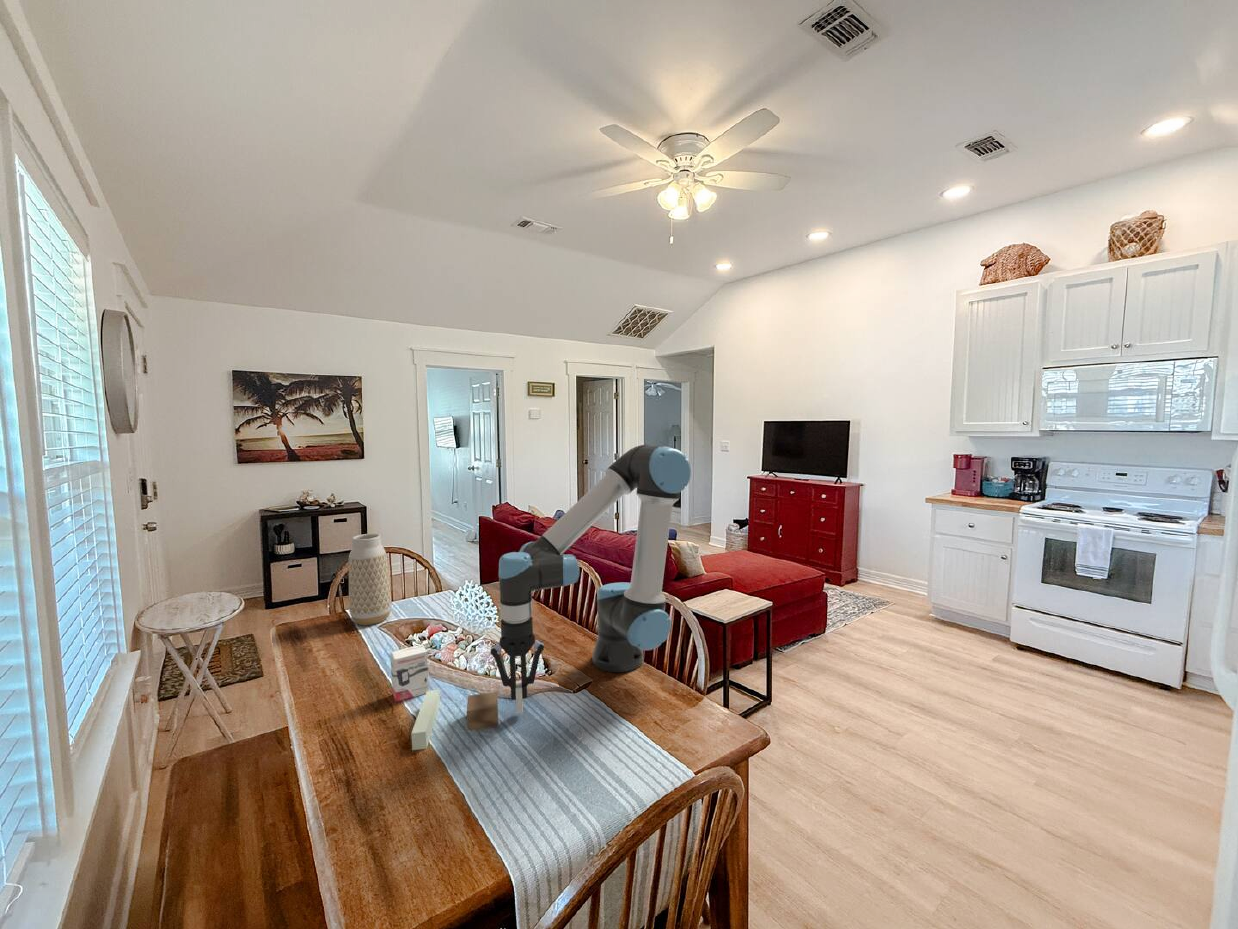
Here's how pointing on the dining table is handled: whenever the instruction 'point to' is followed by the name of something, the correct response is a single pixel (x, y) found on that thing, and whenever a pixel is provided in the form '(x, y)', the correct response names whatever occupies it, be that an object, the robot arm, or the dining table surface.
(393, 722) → the dining table surface
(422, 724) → the board
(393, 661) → the ink box
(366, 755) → the dining table surface
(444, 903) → the dining table surface
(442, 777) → the dining table surface
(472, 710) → the push block
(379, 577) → the vase
